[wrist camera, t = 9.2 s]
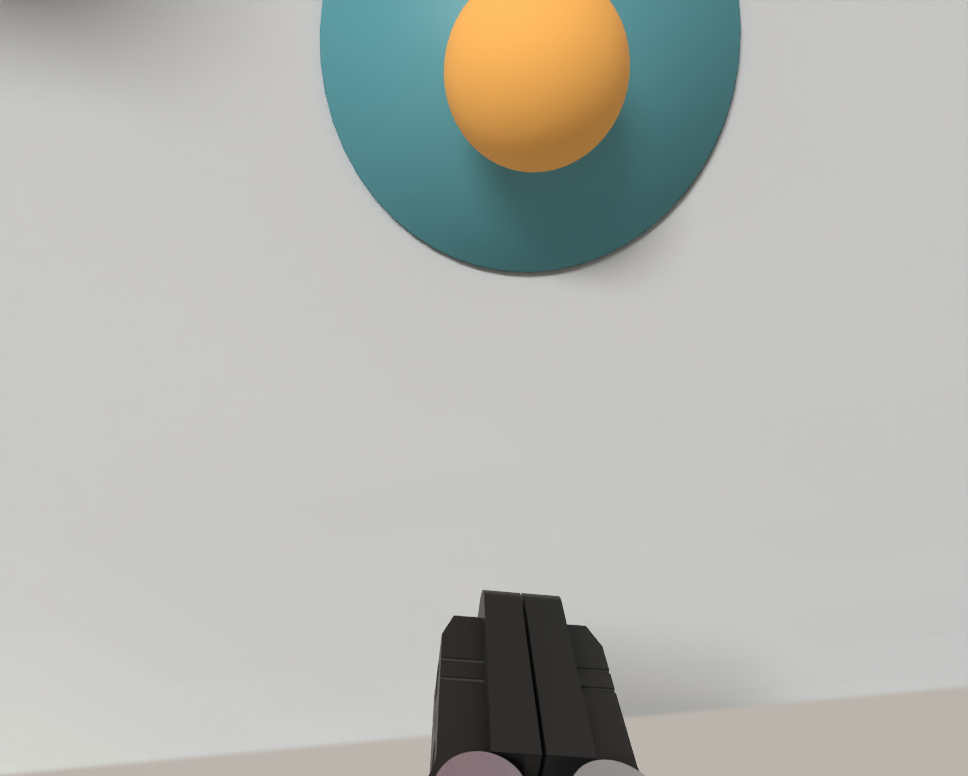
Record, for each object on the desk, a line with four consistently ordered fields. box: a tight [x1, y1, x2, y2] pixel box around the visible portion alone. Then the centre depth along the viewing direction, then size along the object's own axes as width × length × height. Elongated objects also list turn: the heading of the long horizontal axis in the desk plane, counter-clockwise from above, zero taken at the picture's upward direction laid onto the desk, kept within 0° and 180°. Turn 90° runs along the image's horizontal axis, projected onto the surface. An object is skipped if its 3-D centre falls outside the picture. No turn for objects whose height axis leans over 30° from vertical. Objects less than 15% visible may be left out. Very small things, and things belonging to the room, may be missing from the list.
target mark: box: [320, 0, 741, 272], centre depth 21 cm, size 14×14×1 cm
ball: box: [444, 0, 630, 172], centre depth 19 cm, size 6×6×6 cm
